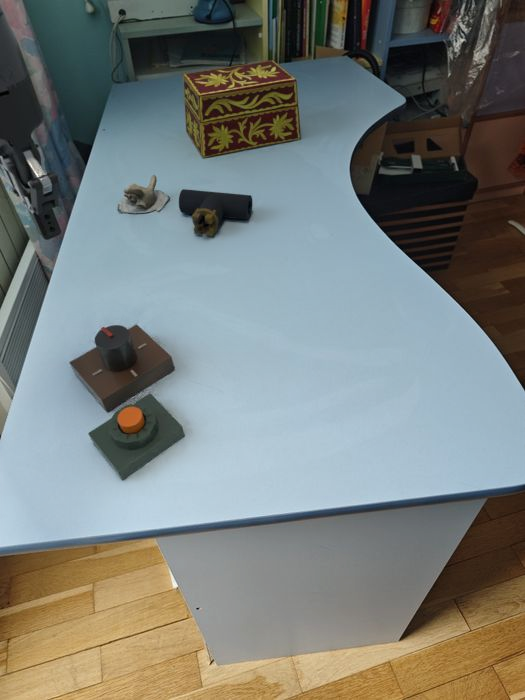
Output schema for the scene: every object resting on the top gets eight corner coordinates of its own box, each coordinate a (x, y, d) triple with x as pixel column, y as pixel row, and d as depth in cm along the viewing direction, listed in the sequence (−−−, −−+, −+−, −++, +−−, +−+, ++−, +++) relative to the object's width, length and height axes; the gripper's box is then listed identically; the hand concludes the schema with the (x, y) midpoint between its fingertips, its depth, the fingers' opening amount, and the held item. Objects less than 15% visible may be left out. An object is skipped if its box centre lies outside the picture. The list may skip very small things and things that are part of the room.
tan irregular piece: (174, 198, 113) (170, 173, 110) (150, 218, 105) (145, 191, 101) (136, 195, 116) (131, 170, 112) (110, 214, 107) (103, 188, 104)
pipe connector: (237, 218, 95) (165, 210, 98) (238, 241, 99) (170, 233, 102) (251, 190, 103) (185, 184, 106) (252, 212, 107) (188, 206, 109)
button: (128, 438, 63) (125, 430, 62) (116, 423, 65) (112, 415, 63) (149, 424, 64) (146, 416, 63) (136, 410, 66) (133, 402, 65)
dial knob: (143, 358, 73) (135, 334, 70) (115, 377, 71) (106, 353, 67) (124, 342, 76) (116, 318, 72) (97, 360, 73) (87, 336, 70)
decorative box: (276, 115, 143) (276, 57, 132) (301, 139, 131) (302, 78, 120) (185, 131, 137) (177, 73, 126) (202, 158, 125) (194, 96, 114)
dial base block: (107, 412, 70) (101, 399, 68) (75, 374, 76) (68, 361, 73) (175, 369, 76) (171, 356, 73) (140, 336, 81) (136, 323, 79)
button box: (122, 480, 63) (114, 464, 60) (92, 442, 67) (83, 425, 64) (185, 435, 67) (180, 418, 64) (153, 402, 71) (147, 385, 68)
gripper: (-79, 69, 47) (-2, 225, 59) (-31, 104, 40) (45, 273, 52) (-3, 51, 50) (55, 203, 63) (54, 81, 43) (106, 245, 56)
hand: (51, 234), depth 58 cm, fingers closed
